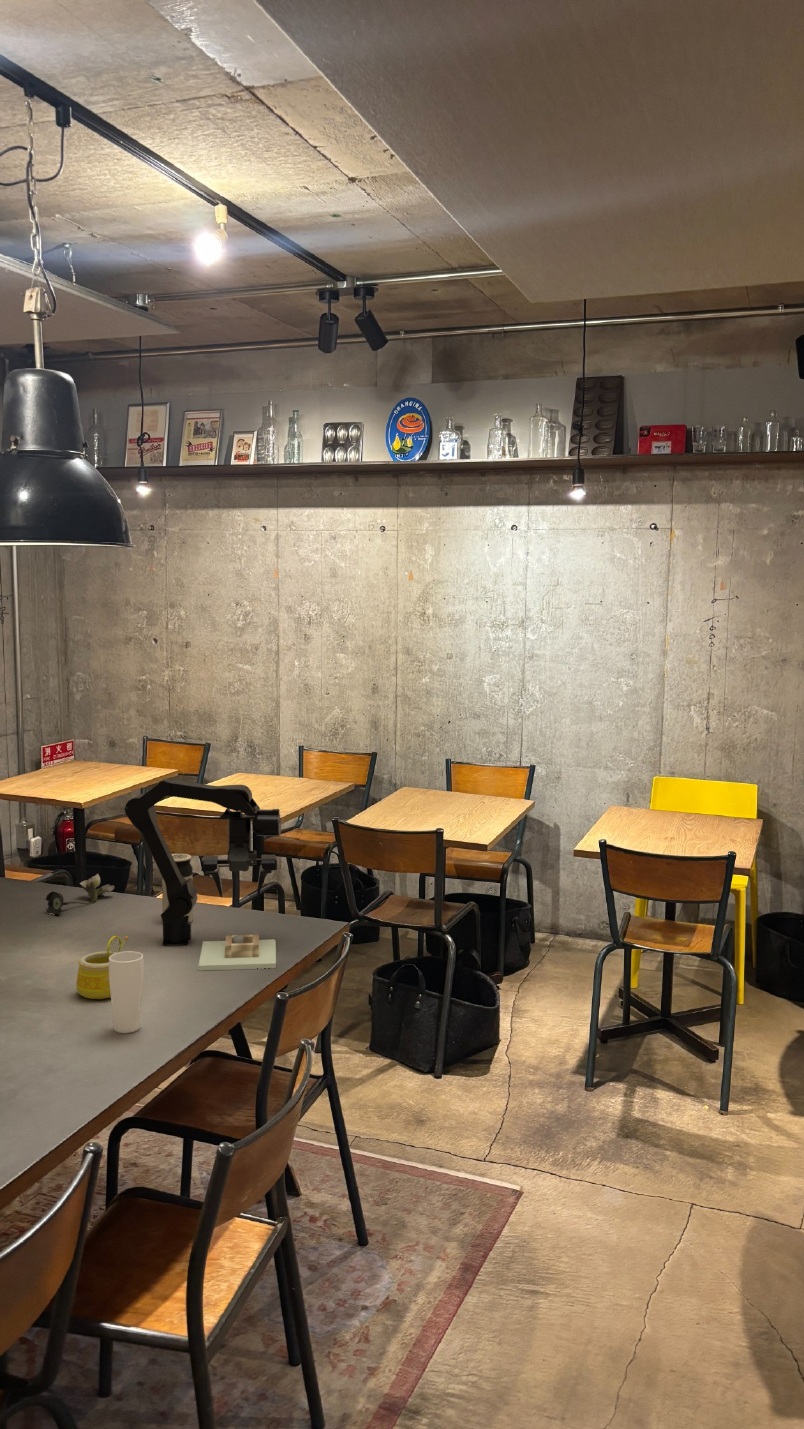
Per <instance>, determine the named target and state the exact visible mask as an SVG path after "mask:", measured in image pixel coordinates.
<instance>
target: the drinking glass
mask: <svg viewBox="0 0 804 1429" xmlns="http://www.w3.org/2000/svg"><path fill="white" fill-rule="evenodd" d="M144 964H145V963H144V954H143V953H141V952H139V951H130V950H128V951H126V950H124V951H121V952H119V953H117V952H116V953H115V954H113V955H111V956H110V957H109V985H110V994H111V998H110V1001H111V1003H110V1004H111V1015H112V1028H113V1030H114V1032H116V1033H118V1034H132V1033H135V1032H137V1031H138V1030H139V1029H140V1027H141V1025H142V1022H141V1020H142V1019H141V1018H142V1017H141V1016H142V1015H141V1014H142V1002H143V991H144V975H145V974H144V973H145V970H144V969H145V967H144V966H145V965H144Z"/></svg>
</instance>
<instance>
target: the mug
mask: <svg viewBox="0 0 804 1429" xmlns="http://www.w3.org/2000/svg"><path fill="white" fill-rule="evenodd" d="M114 939H115V941H114ZM128 940H129V936H127V935H126V936H125V937H124V941H122V938H121V937H120V936H119V935H113V936H112V937H111V938H110V939H109V941H108V943H107V946H106V951H105V950H104V951H97V952H90V953H88V954H85V955H84V956H82V957H81V958H80V959H79V960H78V962H77V963H78V970H77V975H76V991H77V992H78V994H79V996H81V997H84V998H85V999H93V1000H105V999H111V994H110V985H109V957H110V956H111V955H113V954H115V953H119V952H122V949H123V948H124V945H125V944H126V941H128ZM118 942H119V944H118ZM115 944H116V945H115ZM111 945H112V947H110V946H111ZM117 948H118V950H117Z"/></svg>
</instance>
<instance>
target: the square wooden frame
mask: <svg viewBox="0 0 804 1429" xmlns="http://www.w3.org/2000/svg"><path fill="white" fill-rule="evenodd" d="M237 935H238V934H232V935H231V934H230V935H229V934H228V935H225V940H224V941H225V958H240V957H259V940H260V935H259V934H240V935H241V936H243V943H235V944H233V937H234V936H237Z"/></svg>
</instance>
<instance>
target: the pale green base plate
mask: <svg viewBox="0 0 804 1429" xmlns="http://www.w3.org/2000/svg"><path fill="white" fill-rule="evenodd" d="M236 935H237V936H234V937H233V944H235V943H243V936H241V935H242V934H236ZM225 941H226V940H209V941H207V940H206V941H205V940H203V941H202V945H201V949H200V957H199V961H198V968H197V970H198V971H228V970H229V971H230V970H233V971H234V970H263V969H264V968H266V970H267V969H268V968H270V969H277V954H276V953H277V949H276V947H277V946H276V943H277V942H276V939H259V957H240V958H225ZM257 968H258V969H257Z"/></svg>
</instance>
